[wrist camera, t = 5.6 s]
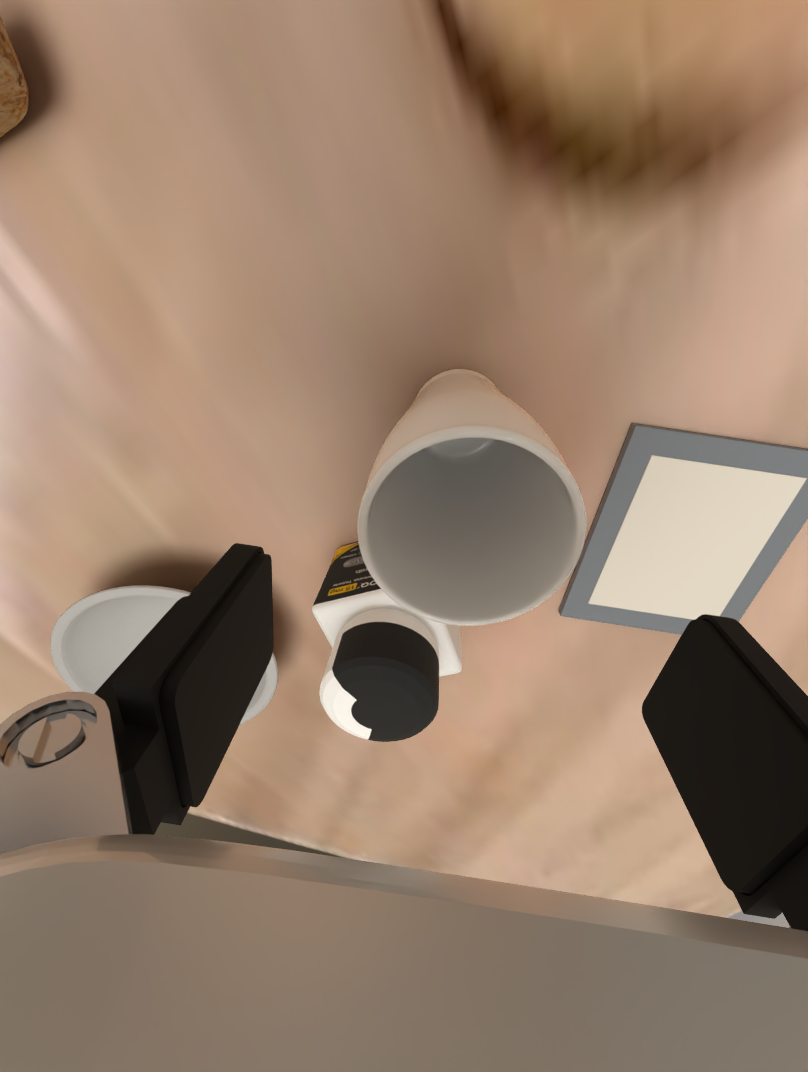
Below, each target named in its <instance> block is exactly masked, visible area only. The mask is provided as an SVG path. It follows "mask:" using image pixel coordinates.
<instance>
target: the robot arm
mask: <svg viewBox="0 0 808 1072" xmlns="http://www.w3.org/2000/svg"><path fill="white" fill-rule="evenodd" d="M272 653H273V604H272V564H271V556H270V555H267V554H264V551H263V548H262V547H258V546H251V545H245V544H238V543H236V544H234V545H232V546H231V548H230V549H229V550H228V551H227V552H226V553H225V555H224V556H223V557H222V558H221V559H220V560H219V561H218V563H217V564H216V565H215V566H214V567H213V568H212V569H211V571H210V572H209V573H208V574H207V575H206V576H205V577H204V579H203V580H202V581H201V582H200V583H199V584H198V585H197V587H196V588H195V589H194V590H193V591H192V592H191V593H190V595H189V596H185V597H182V598H180V599H179V600H178V601H177V602H176V603H175V604H174V605H173V606H172V607H171V608H170V610H169V611H168V612H167V613H166V614H165V615H164V616H163V617H162V618H161V620H160V621H159V622H158V623H157V624H156V625H155V626H154V627H153V629H152V630H151V631H150V632H149V633H148V634H147V635H146V636H145V637H144V639H143V640H142V641H141V642H140V643H139V644H138V645H137V646H136V648H135V649H134V650H133V651H132V652H131V653H130V654H129V655H128V656H127V658H126V659H125V660H124V661H123V662H122V663H121V664H120V665H119V667H118V668H117V669H116V670H115V671H114V672H113V673H112V674H111V675H110V677H109V678H108V679H107V680H106V681H105V682H104V683H103V684H102V685H101V687H100V688H99V689H98V690H97V691H96V692H95V693H94V694H91V693H87V692H65V693H60V694H56V695H51V696H48V697H45V698H43V699H40V700H38V701H35V702H33V703H30V704H29V705H27V706H25V707H24V708H22V709H20V710H18V711H17V712H15V713H13V714H12V715H11V716H10V717H8V718H7V719H6V720H5V721H4V722H3V723H1V724H0V1072H808V696H807V695H806V694H805V693H804V692H803V691H802V690H801V688H800V687H799V686H798V685H797V684H796V683H795V682H794V681H793V680H792V679H791V678H790V677H789V676H788V675H787V673H786V672H785V671H784V670H783V669H782V668H781V667H780V666H779V665H778V664H777V663H776V662H775V661H774V659H773V658H772V657H771V656H770V655H769V654H768V653H767V652H766V651H765V650H764V649H763V648H762V647H761V646H760V644H759V643H758V642H757V641H756V640H755V639H754V638H753V637H752V636H751V635H750V634H749V633H748V632H747V630H746V629H745V628H744V627H743V626H742V625H741V624H740V623H739V622H738V621H737V620H735V619H732V618H728V617H721V616H715V615H708V614H704V615H701V616H699V617H698V618H697V619H695V620H692V621H690V622H689V624H688V625H687V627H686V629H685V630H684V632H683V634H682V636H681V637H680V639H679V641H678V643H677V644H676V646H675V648H674V650H673V651H672V653H671V655H670V657H669V658H668V660H667V662H666V664H665V665H664V667H663V669H662V671H661V672H660V674H659V676H658V678H657V679H656V681H655V683H654V685H653V686H652V688H651V690H650V692H649V693H648V695H647V697H646V699H645V700H644V702H643V706H642V714H643V718H644V721H645V723H646V725H647V727H648V729H649V731H650V733H651V735H652V737H653V739H654V741H655V743H656V745H657V748H658V750H659V752H660V754H661V756H662V758H663V760H664V762H665V764H666V766H667V768H668V770H669V772H670V774H671V776H672V778H673V781H674V783H675V785H676V787H677V789H678V791H679V793H680V795H681V797H682V799H683V801H684V803H685V805H686V807H687V809H688V811H689V814H690V816H691V818H692V820H693V822H694V824H695V826H696V828H697V830H698V832H699V834H700V836H701V838H702V840H703V842H704V844H705V847H706V849H707V851H708V853H709V855H710V857H711V859H712V861H713V863H714V865H715V867H716V869H717V871H718V873H719V875H720V878H721V879H722V881H723V883H724V884H725V885H726V886H727V887H728V888H729V889H730V890H732V891H733V893H734V895H735V897H736V899H737V901H738V903H739V905H740V907H741V909H742V911H743V913H744V914H748V915H755V916H761V917H768V918H776V917H777V916H778V915H780V914H781V913H782V912H783V914H784V916H785V918H786V920H787V921H788V923H789V925H790V926H789V928H785V927H779V926H772V925H766V924H760V923H754V922H748V921H742V920H736V919H730V918H723V917H717V916H711V915H705V914H699V913H693V912H687V911H680V910H674V909H668V908H662V907H656V906H649V905H643V904H637V903H630V902H624V901H618V900H611V899H605V898H599V897H592V896H586V895H580V894H573V893H567V892H561V891H554V890H548V889H542V888H535V887H529V886H522V885H516V884H510V883H503V882H497V881H491V880H484V879H478V878H471V877H465V876H458V875H452V874H445V873H439V872H432V871H425V870H419V869H412V868H406V867H399V866H392V865H386V864H379V863H373V862H366V861H359V860H353V859H346V858H340V857H332V856H326V855H320V854H313V853H306V852H300V851H292V850H284V849H277V848H269V847H262V846H254V845H246V844H239V843H231V842H223V841H216V840H209V839H201V838H189V837H176V836H162V835H154V833H155V832H156V830H157V828H158V826H159V824H160V822H163V823H170V824H176V825H181V823H182V822H183V819H184V817H185V816H186V814H187V812H188V810H189V808H190V806H192V807H197V806H199V805H200V803H201V802H202V800H203V798H204V797H205V795H206V793H207V790H208V788H209V786H210V784H211V782H212V780H213V778H214V776H215V774H216V772H217V770H218V768H219V766H220V764H221V762H222V759H223V757H224V755H225V753H226V751H227V749H228V747H229V745H230V743H231V741H232V739H233V737H234V735H235V733H236V731H237V728H238V726H239V724H240V722H241V720H242V718H243V716H244V714H245V712H246V710H247V708H248V706H249V704H250V702H251V700H252V697H253V695H254V693H255V691H256V689H257V687H258V685H259V683H260V681H261V679H262V677H263V675H264V673H265V671H266V669H267V666H268V664H269V662H270V660H271V657H272Z"/></svg>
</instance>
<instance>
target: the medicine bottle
mask: <svg viewBox="0 0 808 1072" xmlns="http://www.w3.org/2000/svg"><path fill="white" fill-rule="evenodd" d="M312 612H313V614H314V616H315V618H316V620H317V621H318V623H319V625H320V627H321V629H322V630H323V632H324V634H325V636H326V637H327V639H328V641H329V643H330V645H331V646H332V651H331V654H330V657H329V661H328V664H327V667H326V670H325V673H324V676H323V679H322V682H321V686H320V699H321V703H322V705H323V707H324V709H325V711H326V712H327V714H328V716H329V717H330V718H331V719H332V721H333V722H334V723H335V724H336V725H338V726H339V727H340V728H342V729H343V730H345V731H346V732H348V733H350V734H352V735H355V736H357V737H360V738H363V739H367V740H372V741H381V742H390V741H398V740H403V739H406V738H410V737H412V736H414V735H416V734H418V733H419V732H421V731H422V730H423V729H424V728H426V727H427V726H428V725H429V724H430V723H431V722H432V721H433V719H434V717H435V716H436V713H437V710H438V702H439V676H445V675H450V674H456V673H459V672H460V671H461V670H462V657H461V632H460V626H459V625H450V624H444V623H439V622H436V621H432V620H429V619H426V618H423V617H421V616H418V615H416V614H414V613H412V612H410V611H408V610H407V609H405V608H403V607H402V606H400V605H399V604H397V603H396V602H395V601H393V600H392V599H391V598H390V597H389V596H388V595H387V594H386V593H384V592H383V591H382V589H381V588H380V587H379V586H378V585H377V583H376V582H375V581H374V579H373V578H372V576H371V575H370V573H369V571H368V569H367V568H366V565H365V563H364V561H363V558H362V555H361V552H360V548H359V543H358V542H357V543H353V544H350V545H346V546H342V547H340V548H338V549H337V551H336V554H335V556H334V558H333V561H332V563H331V565H330V568H329V570H328V572H327V575H326V577H325V579H324V582H323V584H322V586H321V589H320V591H319V593H318V596H317V598H316V600H315V603H314V605H313V607H312Z"/></svg>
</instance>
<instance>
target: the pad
mask: <svg viewBox="0 0 808 1072" xmlns="http://www.w3.org/2000/svg"><path fill="white" fill-rule="evenodd" d="M807 519H808V449H804V448H797V447H791V446H784V445H777V444H770V443H764V442H757V441H750V440H743V439H737V438H730V437H723V436H716V435H710V434H703V433H696V432H689V431H683V430H676V429H669V428H662V427H656V426H649V425H642V424H635V423H632V424H631V427H630V429H629V432H628V435H627V437H626V440H625V442H624V445H623V447H622V450H621V452H620V455H619V458H618V460H617V463H616V465H615V468H614V470H613V473H612V475H611V478H610V481H609V483H608V486H607V488H606V491H605V493H604V496H603V498H602V501H601V504H600V506H599V509H598V511H597V514H596V516H595V519H594V521H593V524H592V527H591V529H590V532H589V534H588V537H587V539H586V542H585V545H584V547H583V550H582V552H581V555H580V557H579V560H578V562H577V565H576V568H575V570H574V573H573V575H572V578H571V580H570V583H569V585H568V588H567V591H566V593H565V596H564V598H563V601H562V603H561V606H560V608H559V613H560V616H564V617H571V618H577V619H584V620H590V621H597V622H603V623H610V624H616V625H623V626H629V627H636V628H642V629H649V630H655V631H662V632H668V633H675V634H681V635H682V634H683V632H684V630H685V629H686V627H687V625H688V624H689V622H690V621H692V620H695V619H697V618H698V617H699V616H701V615H704V614H708V615H715V616H721V617H728V618H732V619H735V620H737V621H738V622H739V620H740V619H741V617H742V616H743V614H744V613H745V611H746V610H747V608H748V607H749V605H750V604H751V602H752V601H753V599H754V598H755V596H756V595H757V593H758V592H759V590H760V589H761V587H762V586H763V584H764V583H765V581H766V580H767V578H768V577H769V575H770V574H771V572H772V571H773V569H774V568H775V566H776V565H777V563H778V562H779V560H780V559H781V557H782V556H783V554H784V553H785V551H786V550H787V548H788V547H789V545H790V544H791V542H792V541H793V539H794V538H795V536H796V535H797V533H798V532H799V530H800V529H801V528H802V526H803V525H804V523H805V522H806V520H807Z"/></svg>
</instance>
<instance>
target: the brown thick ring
mask: <svg viewBox="0 0 808 1072" xmlns="http://www.w3.org/2000/svg"><path fill="white" fill-rule="evenodd" d="M27 109H28V87H27V84H26V81H25V78H24V75H23V72H22V69H21V66H20V63H19V60H18V57H17V55H16V52H15V50H14V48H13V46H12V44H11V41H10V38H9V35H8V33H7V31H6V29H5V26H4V24H3V22H2V19H1V17H0V137H2V136H3V135H4V134H5V133H6V132H8V131H9V130H10V129H12V128H13V127H15V126H16V125H17V124H18V123H19V122H20V121H21V120H22V119H23V118H24V116H25V115H26V113H27Z"/></svg>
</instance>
